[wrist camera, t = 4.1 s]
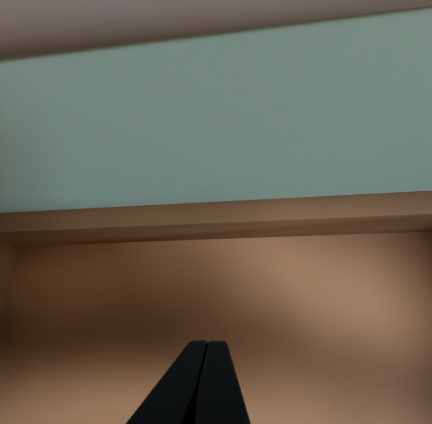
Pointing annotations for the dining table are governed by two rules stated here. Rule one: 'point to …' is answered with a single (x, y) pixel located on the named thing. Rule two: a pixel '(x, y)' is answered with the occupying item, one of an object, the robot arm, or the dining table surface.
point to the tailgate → (212, 100)
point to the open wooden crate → (221, 306)
